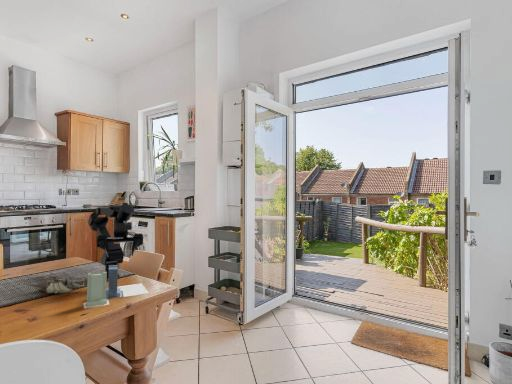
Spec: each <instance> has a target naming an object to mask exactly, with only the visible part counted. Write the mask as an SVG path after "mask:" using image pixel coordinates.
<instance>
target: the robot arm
mask: <svg viewBox="0 0 512 384" xmlns="http://www.w3.org/2000/svg"><path fill="white" fill-rule="evenodd" d="M134 212H135V207H134V206H132V205H131V204H128V202H122V203H121V205H109V206H99V207H96V208H95V210H94V212H92V213H91V214H90V215H89V218H88V219H87V220H88V221H87V223H88V226H89V228H90V229H91V230H92V231H94V232H96V234H97V235H96V247H97V248H100V249H101V250H103V254H102V256H101V258H100V265H103V266H104V267H105V269H104V272H107V279H109V266H112V265H118V267H117V268H118V269H119V264H123V262H124V258H125V252H124V250H123V247H121V246H122V245H121V244H120V243H132V247H131V257H133V256H134V253H135V251H136V250H137V248H138V247H140V246H142V245H143V244H144V234H143V233H133V236H130V237H129V236H128V235H129V231H132V229H133V223H132V221H129V220H131V217H132V215H133V214H134ZM109 219H113V237H112V236H111V234H110V232H109V230H108V229H107V228H108V227H107V224H108V222H109ZM119 276H120V274H119V273H118V278H119Z"/></svg>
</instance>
